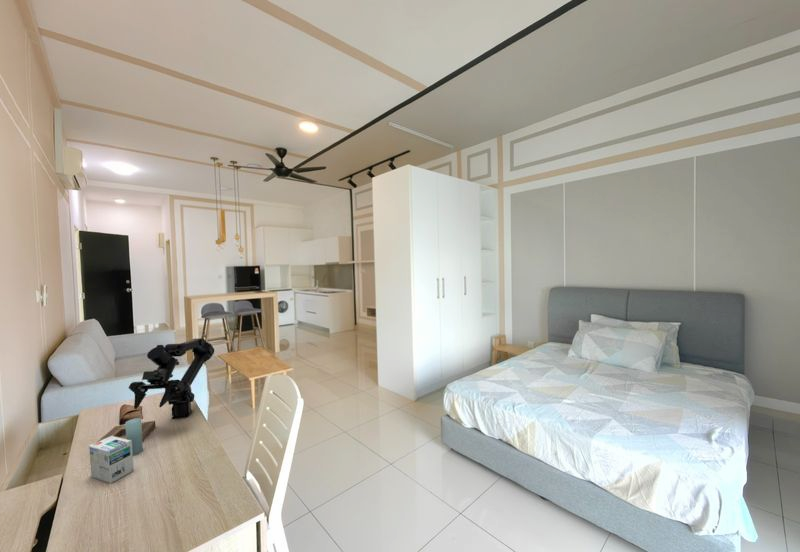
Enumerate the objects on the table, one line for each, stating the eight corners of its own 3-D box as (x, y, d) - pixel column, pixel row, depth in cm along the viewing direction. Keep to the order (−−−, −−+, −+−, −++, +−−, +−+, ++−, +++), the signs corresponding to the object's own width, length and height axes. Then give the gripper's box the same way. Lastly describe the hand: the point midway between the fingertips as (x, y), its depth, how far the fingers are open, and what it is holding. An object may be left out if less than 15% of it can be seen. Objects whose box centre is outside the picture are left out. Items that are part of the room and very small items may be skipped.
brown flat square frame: (155, 427, 132) (155, 420, 132) (138, 445, 119) (138, 437, 119) (115, 433, 128) (115, 426, 128) (93, 452, 115) (93, 444, 115)
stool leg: (145, 448, 117) (143, 417, 117) (139, 454, 113) (137, 422, 113) (131, 450, 116) (129, 419, 116) (124, 457, 112) (122, 424, 111)
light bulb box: (134, 470, 104) (132, 439, 104) (110, 484, 98) (108, 451, 97) (114, 464, 108) (112, 434, 107) (89, 477, 101) (87, 445, 101)
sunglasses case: (144, 418, 140) (134, 408, 138) (127, 431, 136) (116, 421, 134) (142, 405, 154) (133, 396, 151) (127, 417, 150) (116, 407, 147)
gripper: (130, 362, 125) (108, 401, 115) (178, 360, 127) (162, 398, 116) (145, 374, 133) (127, 411, 123) (191, 372, 135) (176, 409, 125)
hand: (147, 407), depth 122 cm, fingers open, 9 cm apart
